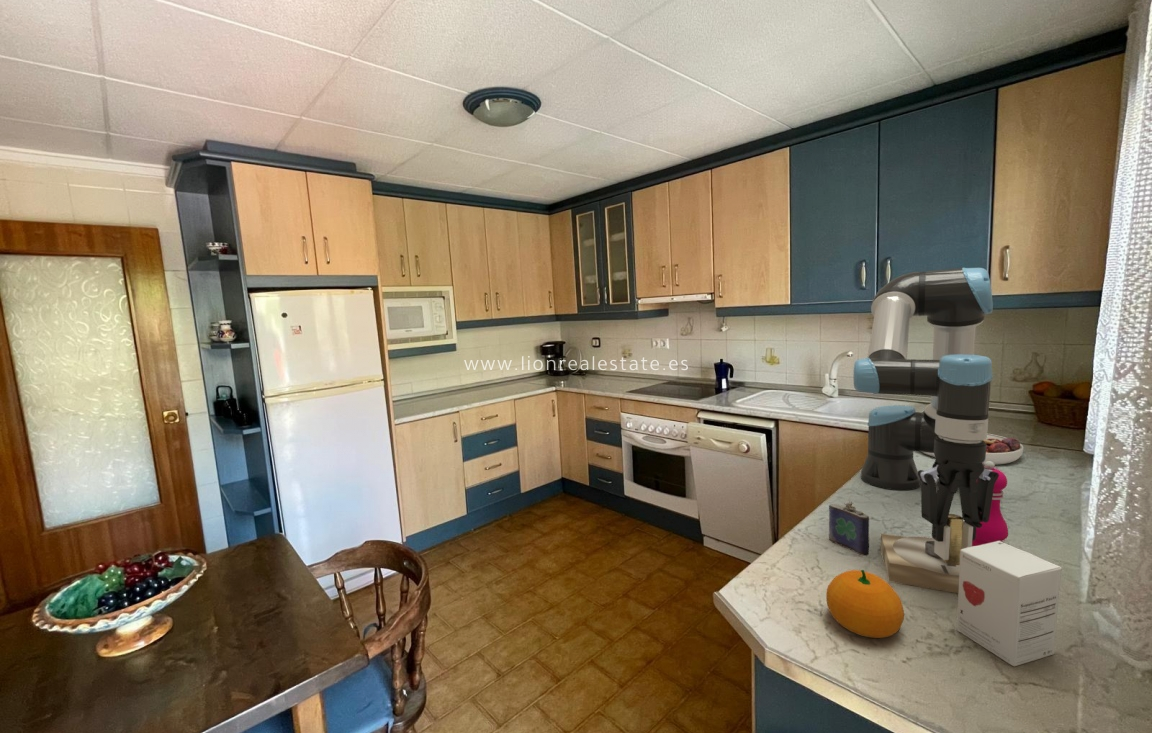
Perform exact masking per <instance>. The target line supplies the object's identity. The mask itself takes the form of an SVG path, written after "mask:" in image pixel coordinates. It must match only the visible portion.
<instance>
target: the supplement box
mask: <svg viewBox="0 0 1152 733" xmlns="http://www.w3.org/2000/svg"><path fill="white" fill-rule="evenodd" d="M1003 542H1004V541H1003ZM1003 542H1001V541H996V542H992V543H987V544H983V545H978V546H973V547H968V548H964V549H961V550H960V572H959V593H957V594H958V595H957V597H958V598H957V614H956V615H957V616H956V631H958V632H960V633H961V634H962V635H964V636H966V637H967V638H969V639H970V640H971V641H973V642H974V643H976V644H978V645H980V646H981V647H983V648H984V649H985V650H987V651H989V652H990V653H992V654H993V655H995V656H996V657H998V658H1000V659H1001V660H1003V661H1004V662H1006V663H1007V664H1009V665H1010V666H1012V667H1017V666H1021V665H1023V664H1027V663H1031V662H1033V661H1037V660H1039V659H1042V658H1045V657H1049V656H1051V655H1052V656H1053V655H1055V653H1056V652H1055V651H1056V638H1057V636H1056V635H1057V628H1058V626H1057V625H1058V614H1059V604H1060V602H1059V600H1060V591H1061V589H1060V588H1061V578H1062V569H1063V567H1061V566H1060V565H1057V564H1054V563H1052V562H1050V561H1048V560H1046V559H1043V558H1041V557H1038V556H1036V555H1035V554H1032V553H1030V552H1028V551H1025V550H1023V549H1019V548H1017V547H1015V546H1013V545H1010V544H1008V543H1005V542H1004V543H1003Z"/></svg>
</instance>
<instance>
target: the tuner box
mask: <svg viewBox="0 0 1152 733" xmlns="http://www.w3.org/2000/svg"><path fill="white" fill-rule="evenodd" d="M927 541H935V539H933V538H932V537H925V536H901V535H893V534H886V533H880V545H879V546H880V553H881V558H882V562H883V564H884V565H883V566H884V568H885V571H886V574H887V578H888V582H889V583H891V582H892V583H897V584H902V585H909V586H915V587H920V588H927V589H932V590H937V591H942V592H949V593H955V594H958V593H959V572H960V565H956V567H955V566H947V565H946V564H945V563H944V562H943V560H942V559H940V558H935V557H932V556H930V555H928V554H927V553H926V552H925V543H926V542H927ZM972 547H973V546H972Z"/></svg>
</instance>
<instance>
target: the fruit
mask: <svg viewBox="0 0 1152 733" xmlns="http://www.w3.org/2000/svg"><path fill="white" fill-rule="evenodd" d="M826 606H827V608H828V610H829V612H830V613H831V616H832V617H833V618H834V620H835V621H836V622H837V623H838V624H840V625H841V626H842V627H843V628H845V629H847V631H850V632H852V633H853V634H857V635H860V636H862V637H867V638H873V639H874V638H875V639H881V638H882V639H883V638H888V637H891V636H893V635H894V634H896V633H897V632H899V630H900V629H901V626H902V624H903V623H904V621H905V620H904V619H905V610H904V607H903V603H902V599H901V598H900V596H899V595H898V593H897V592H896V591H895V589H894V588H893V587H892V586H891V585H890V584H889V583H888V582H887V581H886V580H884V579H883V578H881V576H878V575H877V574H874V573H872V572H867V571H865V570H864V569H861V570H855V569H853V570H846V571H844V572H841V573H839V574H838V575H836V576H835V577H833V579H831V581H830V583H829V584H828V585H827V588H826Z"/></svg>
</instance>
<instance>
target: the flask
mask: <svg viewBox="0 0 1152 733" xmlns="http://www.w3.org/2000/svg"><path fill="white" fill-rule="evenodd" d="M843 504H844V505H841V504H838V503H830V504H829V505H828V510H829V511H828V512H829V513H828V518H829V519H828V520H829V522H828V528H829V529H828V539H829V541H830V542H832V543H833V544H837V545H839V546H841V547H843V548H844V549H849V551H853V552H854V553H857V554H859V555H861V556H866V557H867V556H869V554H870V517H869V516H868V514H867V513H864V512H863V511H861V510H858V509H857V508H856V507H855V506H853V504H854V501H848V502H844V503H843Z"/></svg>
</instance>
